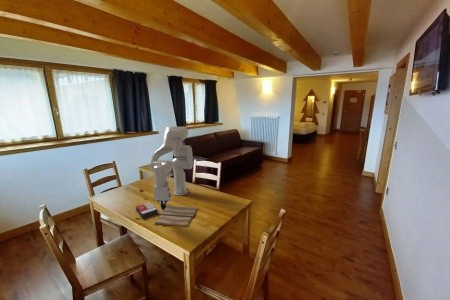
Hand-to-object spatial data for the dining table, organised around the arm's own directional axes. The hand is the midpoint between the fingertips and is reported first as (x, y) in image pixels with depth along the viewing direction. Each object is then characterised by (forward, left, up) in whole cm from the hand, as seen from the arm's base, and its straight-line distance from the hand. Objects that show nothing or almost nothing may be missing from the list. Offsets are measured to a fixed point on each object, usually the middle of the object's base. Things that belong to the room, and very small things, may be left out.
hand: (163, 208), depth 141 cm
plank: (0, +6, -9) cm, 11 cm away
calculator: (-9, -17, -10) cm, 22 cm away
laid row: (-12, +6, -9) cm, 16 cm away
